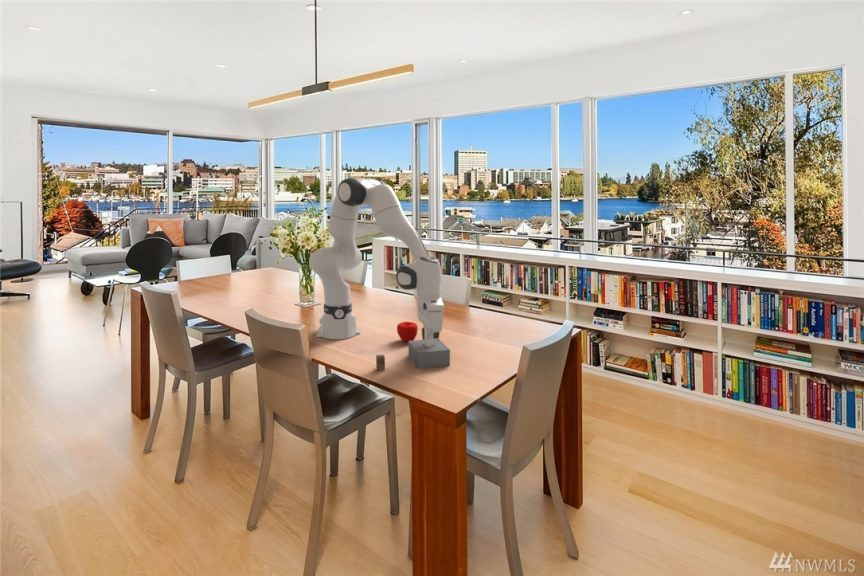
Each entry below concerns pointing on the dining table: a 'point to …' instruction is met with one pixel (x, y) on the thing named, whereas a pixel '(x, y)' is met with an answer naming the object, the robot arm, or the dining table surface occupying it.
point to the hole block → (429, 354)
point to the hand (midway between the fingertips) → (428, 337)
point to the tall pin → (428, 341)
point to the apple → (407, 331)
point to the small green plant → (435, 336)
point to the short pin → (380, 362)
